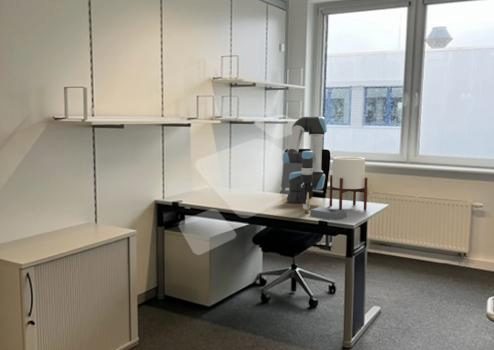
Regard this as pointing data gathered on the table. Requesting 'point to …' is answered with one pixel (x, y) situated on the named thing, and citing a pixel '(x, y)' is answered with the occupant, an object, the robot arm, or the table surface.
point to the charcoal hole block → (328, 213)
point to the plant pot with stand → (348, 178)
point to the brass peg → (307, 204)
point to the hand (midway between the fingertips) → (306, 208)
